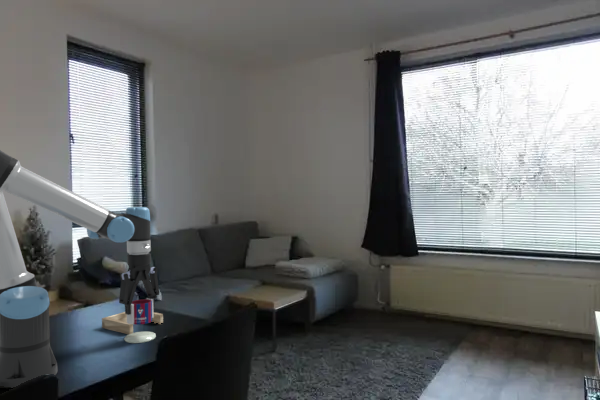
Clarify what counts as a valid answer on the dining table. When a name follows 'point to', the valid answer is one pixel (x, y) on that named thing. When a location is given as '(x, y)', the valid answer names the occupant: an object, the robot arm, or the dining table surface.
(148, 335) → the white round flat disc
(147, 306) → the mug
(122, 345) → the dining table surface
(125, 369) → the dining table surface
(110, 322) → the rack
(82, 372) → the dining table surface
